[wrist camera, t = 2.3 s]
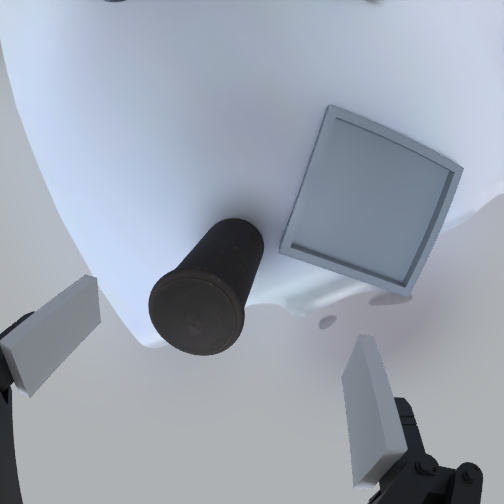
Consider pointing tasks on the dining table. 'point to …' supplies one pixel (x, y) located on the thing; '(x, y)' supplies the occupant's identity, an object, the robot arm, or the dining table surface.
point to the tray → (370, 203)
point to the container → (208, 290)
